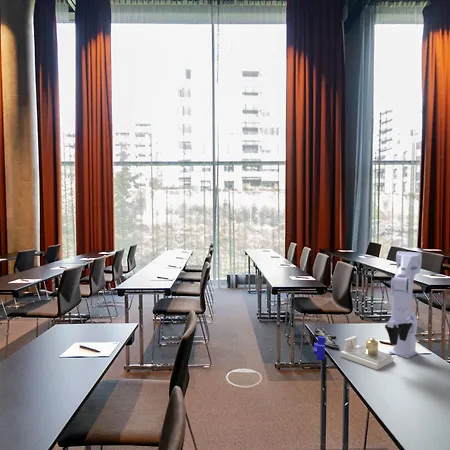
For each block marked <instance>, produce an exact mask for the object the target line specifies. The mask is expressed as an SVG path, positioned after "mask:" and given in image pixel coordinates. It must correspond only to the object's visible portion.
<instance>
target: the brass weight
mask: <svg viewBox="0 0 450 450" xmlns="http://www.w3.org/2000/svg"><path fill="white" fill-rule="evenodd" d="M365 342H366V343H365V347H366V354H368V355H371V356H376V355H378V351H379V341H377V340H376V339H375V338H373V337H370V338H369V339H366V340H365Z"/></svg>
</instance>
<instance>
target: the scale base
mask: <svg viewBox="0 0 450 450" xmlns="http://www.w3.org/2000/svg"><path fill="white" fill-rule="evenodd" d="M357 343H358V336H356V335H353V336H351V337H347V338H346V339H344V340H343V350H341V351H340V352H339V357H340V358H343V359H346V360H349V361H351V362H354V363H356V364H359V365H362V366H365V367H368V368H371V369H374V370H379V369H382V368H383V367H385V366H388V365H390V364H392V363H393V362H394V356H392V357H391V358H389V359H387V360H385V361H383V362H381V363H377V362H374V361H371V360H368V359H365V358H362V357H359V356H356V355H354V354H351V353H349V351H350V350H353V349H355V348H358V347H360V346H361V345H359V344H357Z"/></svg>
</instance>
